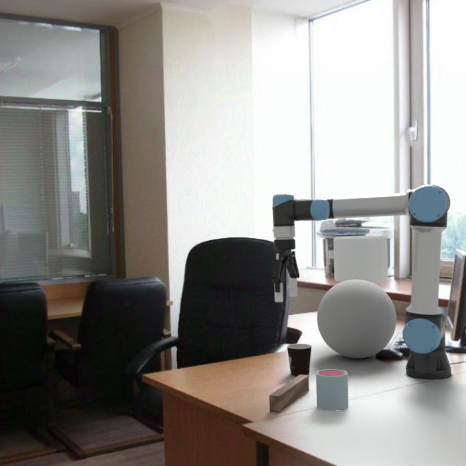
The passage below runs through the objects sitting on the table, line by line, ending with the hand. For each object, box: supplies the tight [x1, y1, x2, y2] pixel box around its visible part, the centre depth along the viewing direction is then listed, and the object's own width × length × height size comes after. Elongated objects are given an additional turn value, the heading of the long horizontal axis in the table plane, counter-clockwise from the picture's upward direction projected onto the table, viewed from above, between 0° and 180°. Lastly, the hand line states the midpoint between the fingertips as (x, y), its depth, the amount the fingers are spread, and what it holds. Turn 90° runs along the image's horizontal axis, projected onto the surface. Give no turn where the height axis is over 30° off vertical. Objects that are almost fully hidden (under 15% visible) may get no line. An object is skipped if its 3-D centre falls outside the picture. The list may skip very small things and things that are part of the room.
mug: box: [315, 368, 349, 412], centre depth 212 cm, size 14×9×10 cm
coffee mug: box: [286, 343, 312, 377], centre depth 251 cm, size 12×9×10 cm
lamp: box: [333, 235, 389, 283], centre depth 307 cm, size 23×23×44 cm
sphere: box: [316, 280, 397, 359], centre depth 274 cm, size 30×30×30 cm
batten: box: [268, 374, 310, 414], centre depth 217 cm, size 3×26×5 cm, turn 155°
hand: (286, 299), depth 249 cm, fingers open, 13 cm apart
